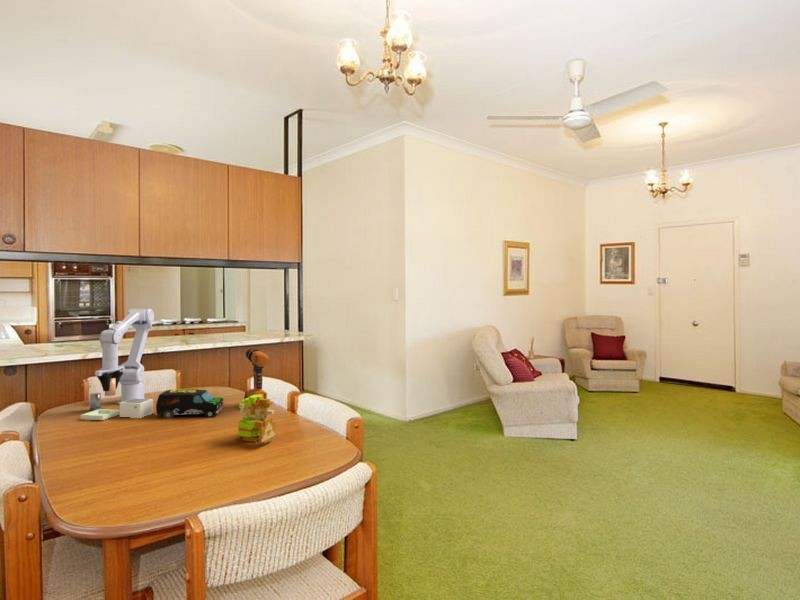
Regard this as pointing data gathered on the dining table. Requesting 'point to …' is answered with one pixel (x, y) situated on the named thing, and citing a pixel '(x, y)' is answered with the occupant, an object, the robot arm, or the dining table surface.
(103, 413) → the tray
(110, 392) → the terracotta peg
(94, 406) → the grey peg
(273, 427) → the toy
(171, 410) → the toy van
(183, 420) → the dining table surface
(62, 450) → the dining table surface
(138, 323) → the robot arm
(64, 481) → the dining table surface
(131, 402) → the box
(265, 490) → the dining table surface
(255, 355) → the power drill
